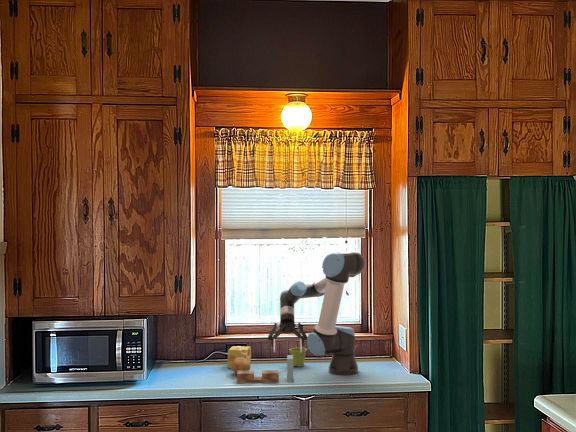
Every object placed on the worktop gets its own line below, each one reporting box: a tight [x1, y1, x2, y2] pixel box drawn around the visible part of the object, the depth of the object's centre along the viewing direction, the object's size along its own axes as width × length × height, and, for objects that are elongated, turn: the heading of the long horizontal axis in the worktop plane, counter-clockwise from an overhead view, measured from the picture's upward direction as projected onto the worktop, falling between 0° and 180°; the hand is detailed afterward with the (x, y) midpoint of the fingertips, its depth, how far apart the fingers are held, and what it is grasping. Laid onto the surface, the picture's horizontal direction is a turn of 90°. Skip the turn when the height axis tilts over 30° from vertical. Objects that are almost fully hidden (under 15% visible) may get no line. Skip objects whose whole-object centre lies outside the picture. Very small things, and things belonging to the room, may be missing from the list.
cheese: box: [227, 345, 252, 369], centre depth 352 cm, size 10×11×10 cm
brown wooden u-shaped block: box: [236, 369, 280, 384], centre depth 321 cm, size 20×6×4 cm, turn 91°
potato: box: [231, 357, 251, 375], centre depth 335 cm, size 10×14×8 cm
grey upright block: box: [286, 354, 294, 382], centre depth 325 cm, size 8×3×11 cm, turn 1°
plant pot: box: [288, 347, 308, 368], centre depth 353 cm, size 9×9×9 cm
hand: (287, 351), depth 334 cm, fingers open, 13 cm apart
